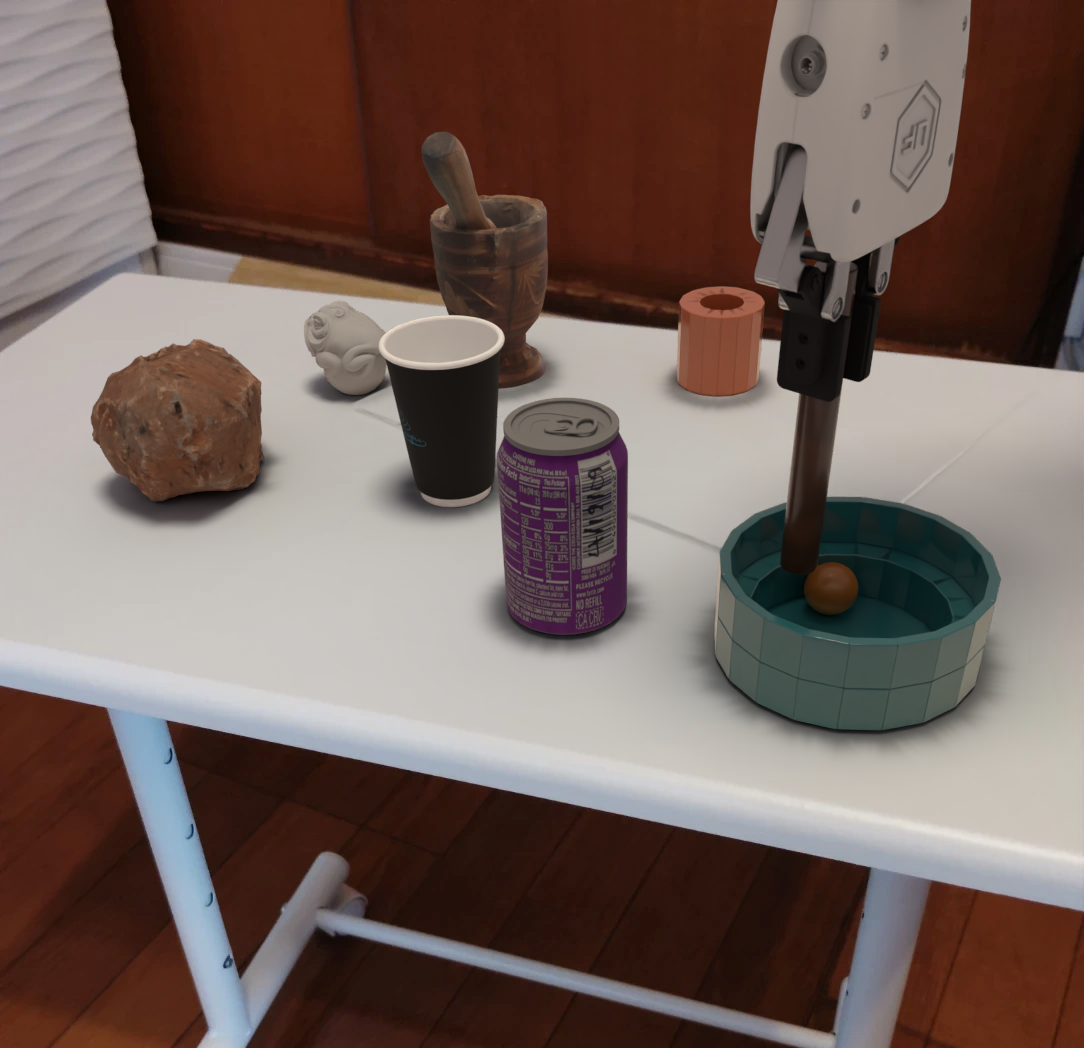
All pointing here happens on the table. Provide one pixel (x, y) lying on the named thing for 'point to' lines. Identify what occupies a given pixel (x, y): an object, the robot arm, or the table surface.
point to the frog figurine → (346, 347)
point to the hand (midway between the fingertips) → (822, 380)
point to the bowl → (857, 617)
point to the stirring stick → (811, 468)
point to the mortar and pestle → (489, 256)
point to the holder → (719, 340)
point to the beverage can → (564, 515)
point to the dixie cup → (447, 403)
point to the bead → (831, 588)
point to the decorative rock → (182, 421)
